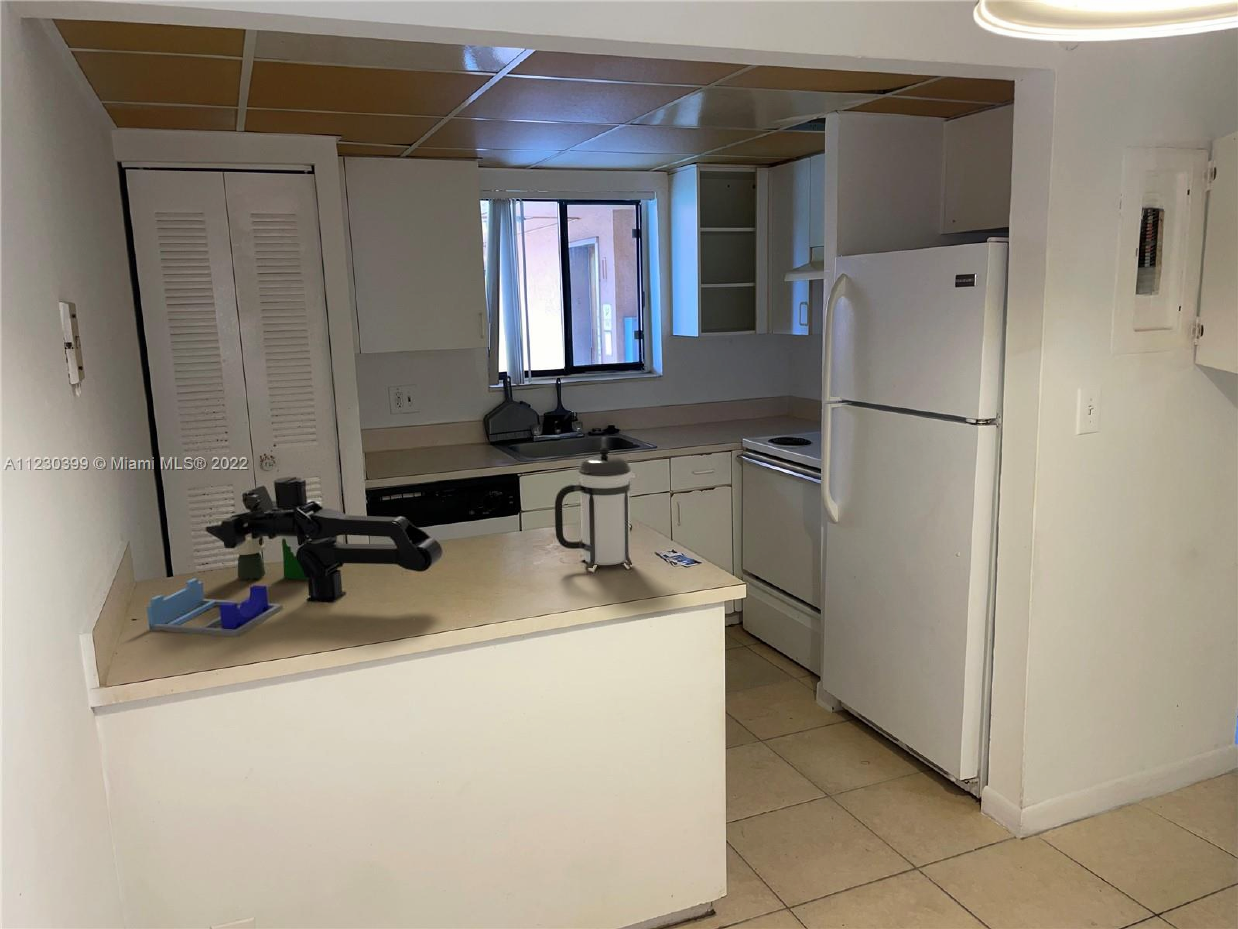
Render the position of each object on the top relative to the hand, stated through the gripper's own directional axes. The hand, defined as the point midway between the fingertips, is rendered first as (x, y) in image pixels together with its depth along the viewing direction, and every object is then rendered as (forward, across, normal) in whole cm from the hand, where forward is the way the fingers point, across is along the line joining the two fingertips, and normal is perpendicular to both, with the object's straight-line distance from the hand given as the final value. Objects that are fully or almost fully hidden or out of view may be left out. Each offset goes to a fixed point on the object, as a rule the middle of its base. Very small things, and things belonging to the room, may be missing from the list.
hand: (219, 523), depth 202 cm
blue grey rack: (-8, +16, +17) cm, 24 cm away
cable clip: (-14, +16, +17) cm, 27 cm away
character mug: (+1, -10, +17) cm, 20 cm away
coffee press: (-82, -32, +20) cm, 90 cm away
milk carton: (-11, -14, +17) cm, 25 cm away
